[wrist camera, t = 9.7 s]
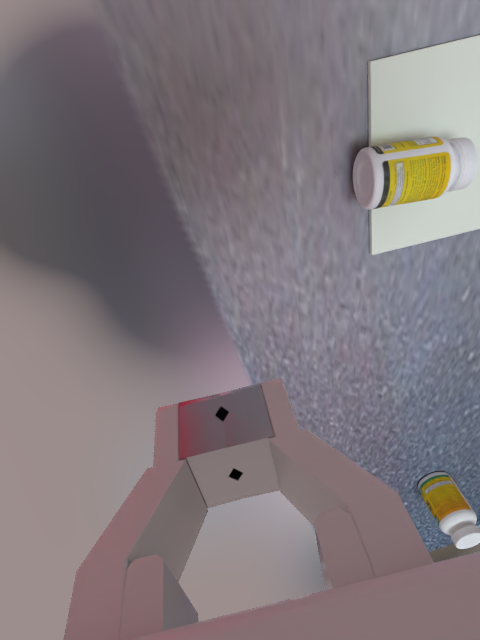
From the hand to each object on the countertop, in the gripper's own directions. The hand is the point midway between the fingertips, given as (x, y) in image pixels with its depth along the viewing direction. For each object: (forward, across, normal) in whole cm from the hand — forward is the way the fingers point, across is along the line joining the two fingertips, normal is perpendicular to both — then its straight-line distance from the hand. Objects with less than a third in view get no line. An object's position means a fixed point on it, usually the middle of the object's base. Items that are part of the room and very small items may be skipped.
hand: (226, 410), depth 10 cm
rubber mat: (+27, -21, +4) cm, 35 cm away
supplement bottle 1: (+24, -13, +4) cm, 28 cm away
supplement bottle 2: (+27, -25, +55) cm, 66 cm away
